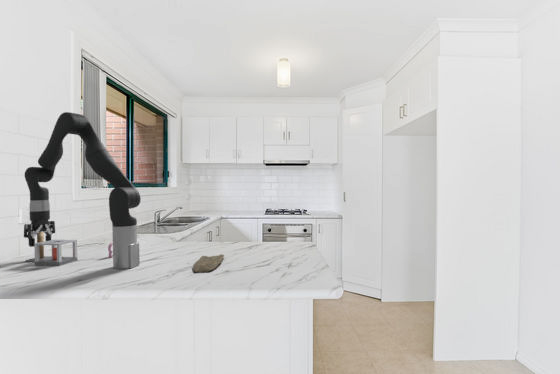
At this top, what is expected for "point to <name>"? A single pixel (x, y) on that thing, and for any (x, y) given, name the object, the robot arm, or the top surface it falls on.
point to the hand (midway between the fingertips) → (40, 244)
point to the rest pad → (34, 259)
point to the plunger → (54, 253)
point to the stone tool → (207, 263)
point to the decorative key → (110, 250)
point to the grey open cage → (60, 259)
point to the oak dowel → (41, 247)
